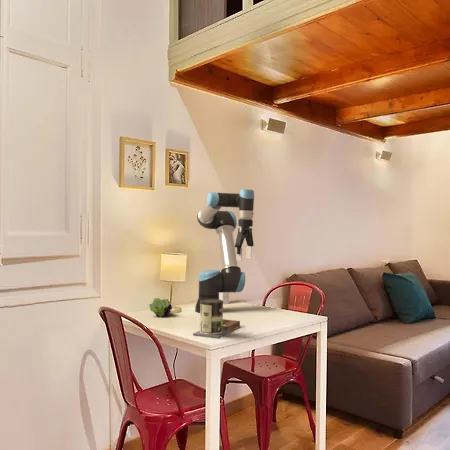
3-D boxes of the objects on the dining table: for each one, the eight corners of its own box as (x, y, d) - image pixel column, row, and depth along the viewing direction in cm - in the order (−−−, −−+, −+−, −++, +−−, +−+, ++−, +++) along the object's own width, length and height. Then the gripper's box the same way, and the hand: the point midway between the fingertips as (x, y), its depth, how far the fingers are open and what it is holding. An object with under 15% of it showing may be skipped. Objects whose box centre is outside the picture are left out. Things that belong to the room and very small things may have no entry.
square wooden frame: (199, 328, 212) (200, 323, 212) (213, 323, 225) (213, 318, 225) (227, 332, 206) (228, 326, 206) (239, 326, 219) (239, 321, 219)
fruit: (172, 320, 245) (162, 318, 231) (155, 315, 248) (144, 313, 235) (178, 301, 247) (167, 298, 233) (161, 297, 250) (149, 294, 236)
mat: (193, 335, 199) (193, 333, 199) (205, 329, 210) (205, 328, 210) (217, 338, 194) (217, 336, 194) (228, 332, 205) (228, 331, 205)
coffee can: (223, 329, 207) (223, 299, 207) (222, 335, 197) (222, 302, 197) (200, 329, 207) (201, 298, 208) (198, 334, 197) (199, 302, 197)
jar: (219, 304, 280) (220, 285, 280) (212, 302, 286) (213, 283, 286) (231, 303, 285) (232, 284, 285) (224, 301, 291) (225, 282, 291)
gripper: (243, 219, 223) (241, 262, 223) (260, 219, 246) (258, 258, 246) (229, 218, 226) (227, 260, 227) (247, 218, 249) (245, 256, 249)
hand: (243, 259), depth 236 cm, fingers open, 13 cm apart
